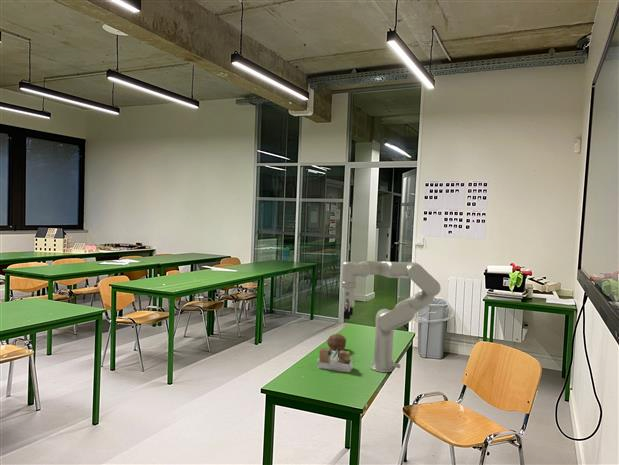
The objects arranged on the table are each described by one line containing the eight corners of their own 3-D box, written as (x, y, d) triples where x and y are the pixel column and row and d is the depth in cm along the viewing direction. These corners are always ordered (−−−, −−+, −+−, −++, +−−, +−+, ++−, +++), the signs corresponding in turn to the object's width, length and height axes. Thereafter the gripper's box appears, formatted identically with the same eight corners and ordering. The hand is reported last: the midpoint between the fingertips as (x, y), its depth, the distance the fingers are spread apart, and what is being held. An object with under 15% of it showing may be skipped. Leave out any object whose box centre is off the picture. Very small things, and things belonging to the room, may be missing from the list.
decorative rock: (342, 354, 254) (343, 337, 254) (323, 351, 258) (324, 334, 258) (348, 348, 267) (349, 332, 266) (331, 345, 271) (331, 329, 270)
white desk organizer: (352, 367, 232) (353, 350, 232) (349, 372, 224) (350, 355, 224) (321, 363, 237) (322, 346, 237) (317, 367, 229) (318, 350, 229)
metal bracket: (325, 345, 252) (350, 349, 245) (325, 354, 253) (350, 358, 247) (315, 359, 239) (341, 363, 233) (316, 368, 241) (341, 373, 235)
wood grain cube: (349, 362, 231) (349, 351, 231) (347, 365, 226) (348, 353, 226) (339, 361, 232) (339, 350, 232) (337, 363, 228) (337, 352, 228)
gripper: (353, 287, 224) (352, 321, 225) (358, 283, 241) (357, 314, 242) (339, 287, 226) (338, 319, 227) (344, 282, 243) (343, 313, 243)
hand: (348, 316), depth 234 cm, fingers open, 9 cm apart
